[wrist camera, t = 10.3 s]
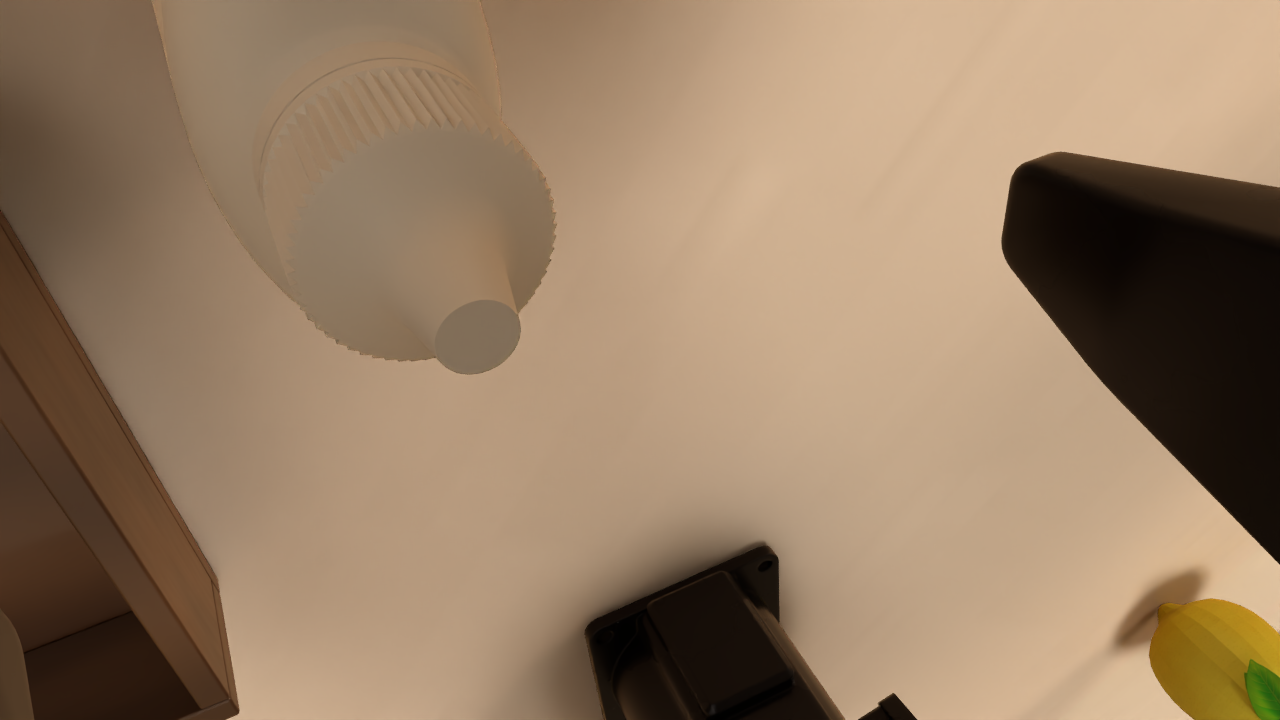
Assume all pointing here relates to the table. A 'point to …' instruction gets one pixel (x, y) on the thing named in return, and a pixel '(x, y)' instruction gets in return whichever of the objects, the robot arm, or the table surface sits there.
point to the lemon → (1217, 660)
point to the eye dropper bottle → (367, 167)
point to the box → (94, 537)
